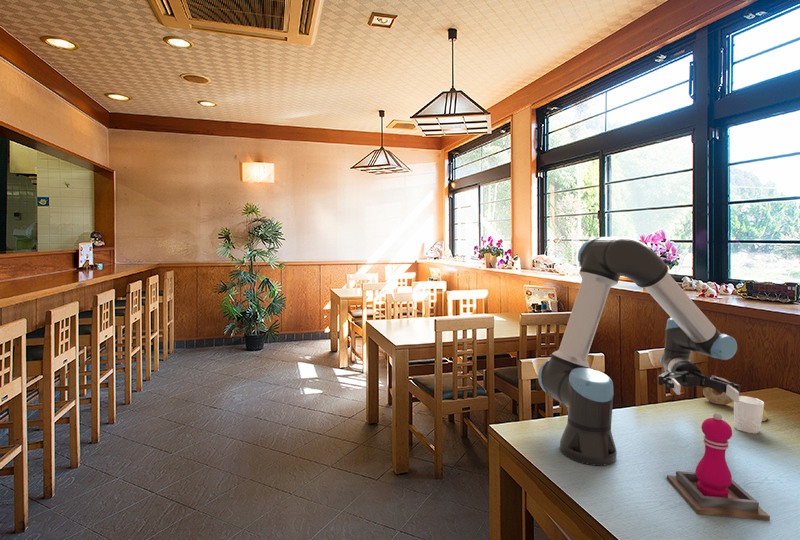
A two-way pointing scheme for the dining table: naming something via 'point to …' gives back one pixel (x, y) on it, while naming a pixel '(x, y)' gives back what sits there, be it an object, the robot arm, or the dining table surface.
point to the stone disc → (716, 396)
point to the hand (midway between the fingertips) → (707, 393)
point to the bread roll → (764, 415)
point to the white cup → (748, 414)
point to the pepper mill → (714, 458)
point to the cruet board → (717, 499)
